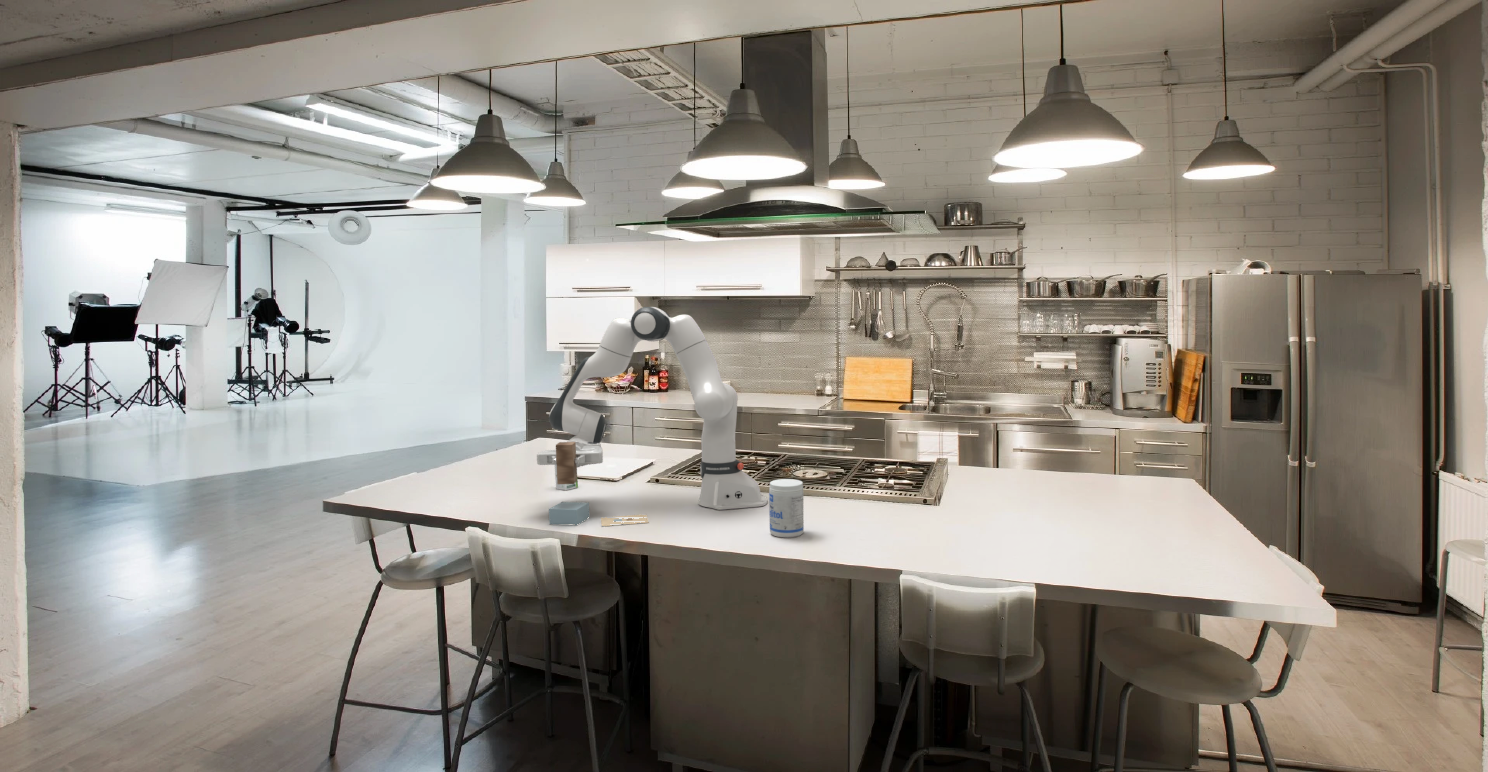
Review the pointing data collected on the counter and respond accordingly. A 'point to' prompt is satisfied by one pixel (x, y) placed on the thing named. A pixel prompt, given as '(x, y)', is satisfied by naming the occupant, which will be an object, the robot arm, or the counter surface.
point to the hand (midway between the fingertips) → (565, 461)
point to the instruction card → (609, 521)
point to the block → (566, 463)
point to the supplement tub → (786, 508)
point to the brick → (569, 513)
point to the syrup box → (564, 486)
